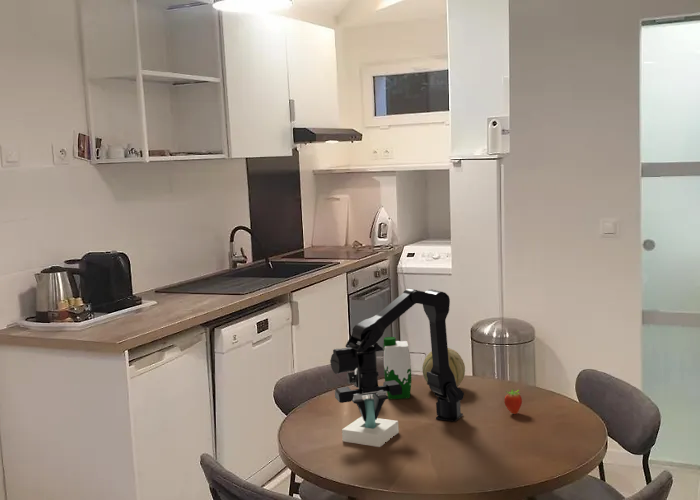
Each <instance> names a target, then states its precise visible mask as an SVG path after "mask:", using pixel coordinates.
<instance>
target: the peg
mask: <svg viewBox="0 0 700 500" xmlns="http://www.w3.org/2000/svg"><path fill="white" fill-rule="evenodd" d="M364 402H365V412H366V421H365V428H371V429H374V428H375V427H376V424H375V406H374V399H371V398H368V399H364Z"/></svg>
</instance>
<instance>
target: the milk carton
mask: <svg viewBox="0 0 700 500" xmlns="http://www.w3.org/2000/svg"><path fill="white" fill-rule="evenodd" d="M396 338H397V337H395V336H386V337H383V345H382V346H383V347H382V348H383V373H384V374H383V375H384V382H386V381H393V380H395V381H396V382H397V383H399V384H400V385H401V386H402V394H400V395H391V394H390V393H389V392H387V393H386V394H387V396H388V399H387V400H398V399H399V400H401V399H402V400H403V399H410V398H411V390H412V389H411V388H412V365H411V363H412V360H411V352H410V348H409V344H408V343H409V342H408V341H407V340H396Z"/></svg>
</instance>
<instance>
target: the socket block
mask: <svg viewBox="0 0 700 500" xmlns="http://www.w3.org/2000/svg"><path fill="white" fill-rule="evenodd" d="M375 424H376V427H375V428H374V429H371V428H365V421H364V420H363V418H362V415H361V416H360V417H358V418H357V419H355V420H354V421H352V422H351V423H350V424H348V425H346V426H345V427H344V428H342V429H341V433H342V435H341V436H342V437H341V438H342V442H344V443H350V444H351V443H352V444H359V445H362V446H363V445H364V446H371V447H376V448H381V447H383V445H384V444H386V443H387V442H388V441H390V438H391V439H392V438H393V436H394V437H395V436H396V435H398V434H399V431H400V430H399V420H393V419H389V418H388V419H386V418H378V417H377V420H375ZM385 442H386V443H385Z"/></svg>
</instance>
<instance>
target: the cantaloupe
mask: <svg viewBox="0 0 700 500" xmlns="http://www.w3.org/2000/svg"><path fill="white" fill-rule="evenodd" d="M448 358H449V366H450V368H451V370H452V372H453V374H454V377H455V381H456V385H457V387H458V388H459V386H460V385H461V383H462V381H463V380H464V378H465V374H466V373H465V372H466V366H465V362H464V359H463V358H462V356H461V355H460V353H459V352H458V351H456V350H454V349H452V348H449V347H448ZM432 367H433V360H432V350H431V351H430V352H428V353H427V355H426V357H425V358H424V360H423V364H422V376H423V379H424V381H425V382H426V383H427V381H428V378H427V372H431V369H432Z"/></svg>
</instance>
